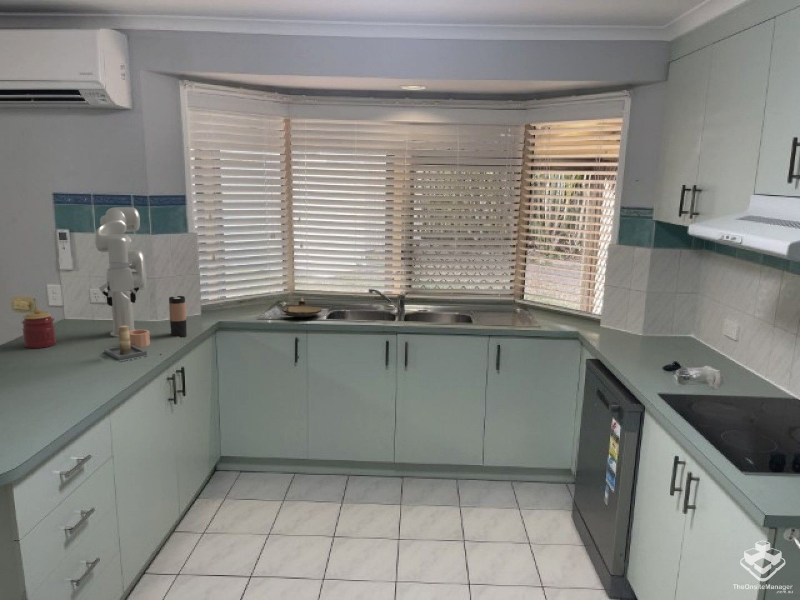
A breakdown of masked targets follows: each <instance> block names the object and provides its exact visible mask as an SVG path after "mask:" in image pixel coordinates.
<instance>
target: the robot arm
mask: <svg viewBox="0 0 800 600" xmlns="http://www.w3.org/2000/svg"><path fill="white" fill-rule="evenodd" d="M140 217H141V216H140V213H139V211H138V210H137V208H135V207H132V206H131V207H129V206H128V207H125V206H124V207H123V206H121V207H119V206H118V207H117V206H115V207H111V208H109V209H107V210H106V212H105V215H102V216H101V217H100V219H99V222H100V223H99V224H100V226H99V227H98V228H97V229H96V231H95V237H94V240H95V248H96V249H97V251H98V252H101V253H106V252H107V254H108V264H109V268H107V270H106V280H105V283H104V284H103V285H101V286H100V287H98V289H99V290H100V292H101V293H102V295H104V296H105V297H106V304H107V305H108V306H110V307H111V313H112V315H111V316H112V326H113V328H112V329H113V330H112V331H110V336H111V337H115V338H116V337H117V338H119V333H118V327H120V326H129V332H130V331H134V330H137V329H136V328H135V322H134V319H135V318H134V308H133V307H134V305H133V304H136V300H137V297H136V294H137V293H138V292H139V291H143V290H145V289H146V287H147V284H148V283H147V271H146V259H145V255H144V253H143V251H141V250H140V249H139V250H138V249H131V248H132V247H133V244H132V243H133V241H132V238H131V236H129V235H127V234H126V232H137V231H139V229H140V226H141V218H140ZM132 270H134V271H132ZM105 289H106V290H107V291H106V290H105ZM127 292H130V294H129V293H127Z"/></svg>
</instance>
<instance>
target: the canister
mask: <svg viewBox="0 0 800 600" xmlns="http://www.w3.org/2000/svg"><path fill="white" fill-rule="evenodd" d="M22 318H23V320H22V321H21V324H22V325H23V326H22V327H23V328H22V334H23V335H22V336H23V344H24V348H26V347H27V348H26V349H43V347H44V348H49V347H52V346H54V345H56V343H57V337H56V329H55V328H56V326H55V325H54V321H55V318H53V317H52V313H50V312H48V311H46V310H45V311H44V310H42V311H41V309H40V308H39V307H37V308H34V310H33V311H31V312H28V313H26V314H25V315H24V316H23V317H22ZM48 346H49V347H48Z"/></svg>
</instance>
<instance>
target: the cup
mask: <svg viewBox="0 0 800 600" xmlns="http://www.w3.org/2000/svg"><path fill="white" fill-rule="evenodd" d="M150 336H151V334H150V330H148V329H136V330H134V331H130V344H132V345H134V346H136V347H138V348H143V347H144V348H145V347H147V346H150V345H151V337H150Z"/></svg>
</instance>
